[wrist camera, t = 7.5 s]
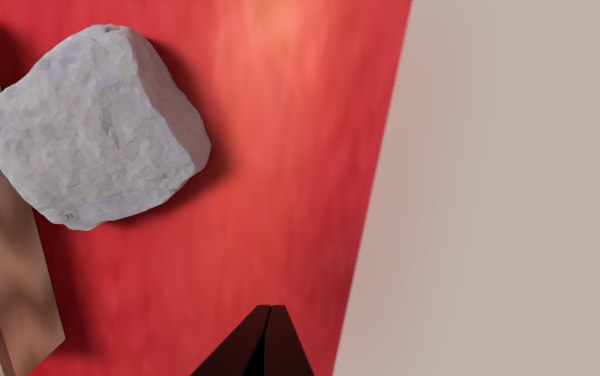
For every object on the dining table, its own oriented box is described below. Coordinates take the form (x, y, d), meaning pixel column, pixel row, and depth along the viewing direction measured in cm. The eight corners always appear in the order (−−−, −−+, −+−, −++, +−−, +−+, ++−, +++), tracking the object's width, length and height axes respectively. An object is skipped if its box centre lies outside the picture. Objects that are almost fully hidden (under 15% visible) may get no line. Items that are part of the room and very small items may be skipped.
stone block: (233, 151, 21) (140, 13, 17) (220, 177, 17) (90, 2, 13) (112, 218, 23) (4, 110, 19) (73, 256, 19) (-77, 127, 15)
